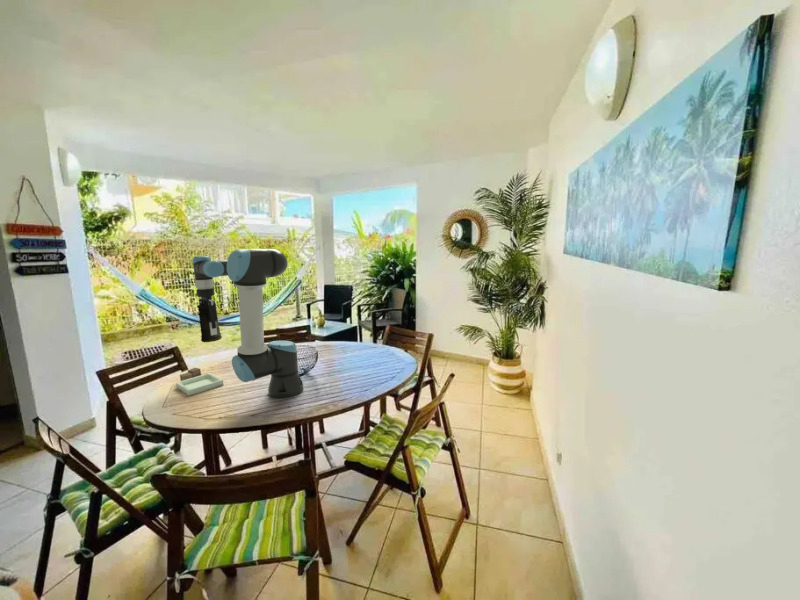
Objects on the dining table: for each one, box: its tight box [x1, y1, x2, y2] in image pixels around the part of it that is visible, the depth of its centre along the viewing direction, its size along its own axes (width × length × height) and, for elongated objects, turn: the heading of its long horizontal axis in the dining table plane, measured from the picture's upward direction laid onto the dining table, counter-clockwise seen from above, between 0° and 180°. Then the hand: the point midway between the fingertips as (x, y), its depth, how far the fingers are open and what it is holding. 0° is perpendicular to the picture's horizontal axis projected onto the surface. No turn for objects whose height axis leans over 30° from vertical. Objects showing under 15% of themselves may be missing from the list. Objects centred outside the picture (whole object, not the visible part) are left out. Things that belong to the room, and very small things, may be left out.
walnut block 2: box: [187, 367, 202, 378], centre depth 171 cm, size 4×4×4 cm
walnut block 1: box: [179, 371, 192, 381], centre depth 165 cm, size 4×4×4 cm
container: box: [196, 302, 223, 343], centre depth 166 cm, size 9×9×18 cm
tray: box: [175, 372, 224, 397], centre depth 159 cm, size 15×15×2 cm
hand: (210, 333), depth 167 cm, fingers closed on container, 8 cm apart
